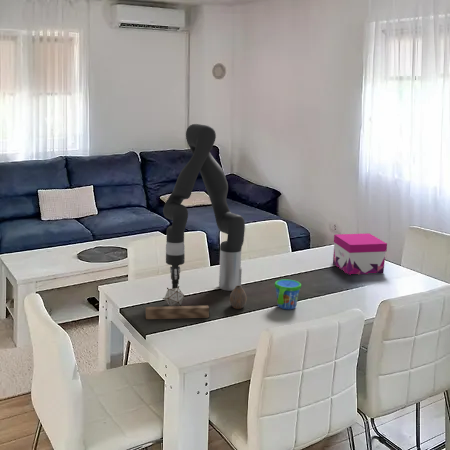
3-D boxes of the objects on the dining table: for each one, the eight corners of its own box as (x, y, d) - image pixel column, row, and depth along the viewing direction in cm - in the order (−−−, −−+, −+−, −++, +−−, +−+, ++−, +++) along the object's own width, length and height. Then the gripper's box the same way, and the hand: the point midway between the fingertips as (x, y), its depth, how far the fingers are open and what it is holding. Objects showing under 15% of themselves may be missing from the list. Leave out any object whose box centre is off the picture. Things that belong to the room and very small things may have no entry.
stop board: (207, 315, 239) (208, 305, 238) (208, 317, 237) (208, 307, 236) (145, 316, 236) (145, 306, 235) (145, 319, 234) (145, 309, 233)
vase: (228, 303, 252) (229, 283, 250) (245, 303, 252) (246, 283, 250) (230, 310, 245) (230, 289, 243) (247, 310, 246) (248, 289, 243)
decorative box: (332, 263, 310) (334, 234, 306) (366, 261, 314) (369, 233, 311) (347, 275, 292) (350, 245, 289) (384, 273, 297) (387, 243, 293)
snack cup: (284, 298, 260) (285, 275, 257) (306, 304, 254) (308, 280, 252) (265, 309, 247) (267, 285, 244) (289, 315, 241) (290, 291, 239)
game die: (177, 316, 247) (184, 303, 239) (158, 308, 246) (163, 294, 239) (184, 299, 253) (190, 286, 246) (165, 291, 252) (170, 277, 245)
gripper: (185, 256, 241) (185, 298, 245) (183, 247, 253) (183, 286, 258) (166, 256, 240) (166, 298, 244) (165, 247, 252) (165, 287, 257)
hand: (174, 292), depth 251 cm, fingers closed
